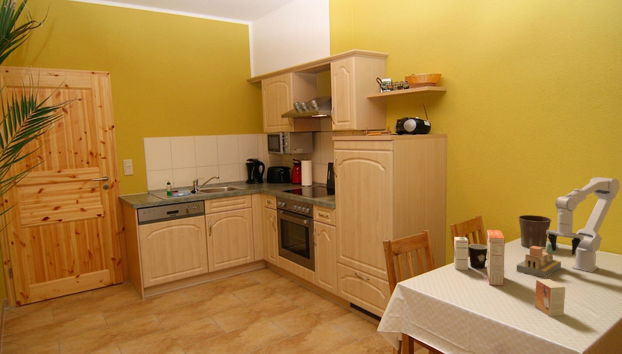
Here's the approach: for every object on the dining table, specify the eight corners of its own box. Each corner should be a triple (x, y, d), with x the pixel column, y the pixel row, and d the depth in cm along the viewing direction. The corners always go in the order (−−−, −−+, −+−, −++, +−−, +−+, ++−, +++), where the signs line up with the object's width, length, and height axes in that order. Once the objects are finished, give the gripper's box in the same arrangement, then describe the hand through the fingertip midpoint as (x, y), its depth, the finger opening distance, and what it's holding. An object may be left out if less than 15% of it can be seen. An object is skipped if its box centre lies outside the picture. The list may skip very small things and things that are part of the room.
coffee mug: (467, 268, 189) (468, 248, 188) (468, 262, 197) (468, 243, 196) (494, 271, 185) (495, 250, 184) (493, 265, 193) (494, 245, 191)
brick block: (533, 254, 185) (533, 245, 184) (542, 256, 182) (542, 247, 181) (529, 256, 182) (529, 247, 182) (539, 257, 179) (539, 249, 179)
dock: (533, 261, 197) (533, 255, 197) (560, 267, 188) (561, 261, 188) (516, 271, 184) (516, 264, 184) (544, 277, 175) (545, 271, 175)
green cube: (545, 249, 190) (547, 241, 189) (555, 251, 188) (557, 244, 187) (545, 251, 186) (548, 243, 185) (555, 254, 185) (558, 246, 184)
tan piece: (540, 257, 194) (540, 246, 193) (552, 260, 189) (553, 248, 189) (525, 266, 182) (525, 254, 181) (538, 269, 178) (538, 257, 177)
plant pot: (550, 252, 212) (551, 222, 210) (516, 248, 220) (517, 219, 218) (550, 244, 226) (551, 216, 224) (518, 241, 234) (519, 214, 232)
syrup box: (468, 270, 187) (469, 240, 185) (455, 269, 188) (455, 239, 186) (466, 266, 192) (466, 237, 191) (453, 265, 194) (453, 236, 192)
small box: (534, 306, 147) (535, 279, 146) (548, 305, 147) (550, 278, 146) (549, 316, 139) (550, 287, 138) (564, 315, 139) (565, 286, 138)
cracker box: (485, 273, 182) (486, 229, 179) (500, 275, 180) (501, 230, 177) (488, 285, 168) (489, 237, 166) (504, 286, 166) (505, 238, 164)
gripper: (544, 222, 182) (542, 250, 183) (580, 227, 171) (579, 257, 172) (549, 219, 186) (548, 247, 188) (586, 224, 175) (584, 254, 177)
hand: (563, 252), depth 180 cm, fingers open, 7 cm apart
